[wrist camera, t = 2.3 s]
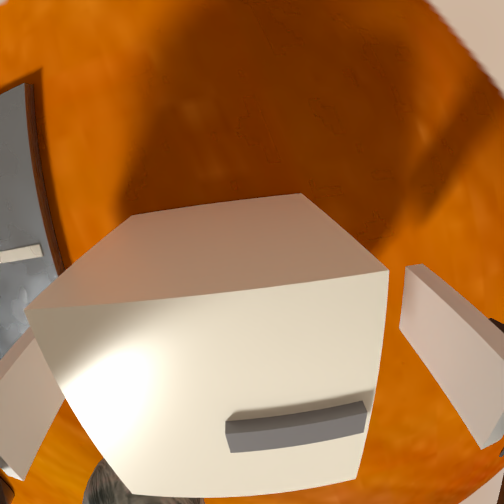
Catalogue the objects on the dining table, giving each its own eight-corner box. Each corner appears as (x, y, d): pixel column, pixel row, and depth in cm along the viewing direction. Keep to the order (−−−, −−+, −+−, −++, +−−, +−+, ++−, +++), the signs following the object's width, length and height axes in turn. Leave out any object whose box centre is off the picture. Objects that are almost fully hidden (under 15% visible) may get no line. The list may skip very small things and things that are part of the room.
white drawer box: (166, 354, 16) (130, 502, 8) (131, 215, 14) (14, 318, 5) (309, 339, 16) (358, 487, 8) (301, 193, 14) (398, 278, 5)
